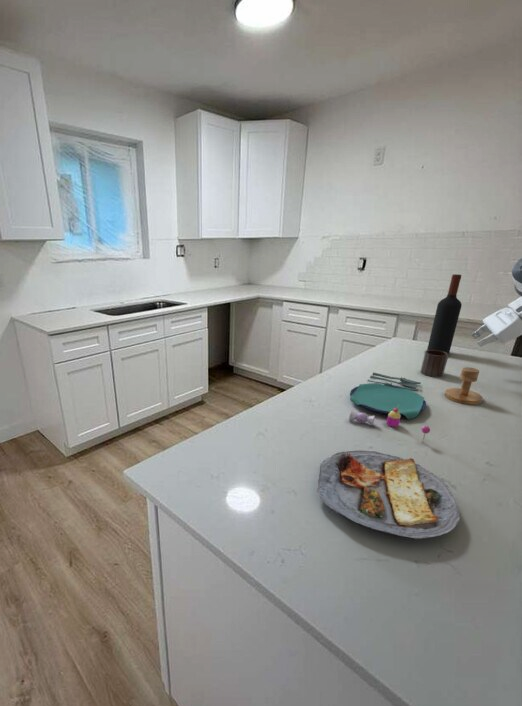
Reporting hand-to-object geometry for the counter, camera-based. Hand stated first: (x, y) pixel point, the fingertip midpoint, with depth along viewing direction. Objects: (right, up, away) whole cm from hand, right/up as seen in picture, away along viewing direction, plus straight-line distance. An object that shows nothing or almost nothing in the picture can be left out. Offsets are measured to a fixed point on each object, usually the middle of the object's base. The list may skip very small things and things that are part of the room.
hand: (475, 340), depth 117 cm
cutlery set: (-32, -18, -8) cm, 38 cm away
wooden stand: (-11, -18, -10) cm, 24 cm away
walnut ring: (-9, -10, +8) cm, 16 cm away
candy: (-41, -26, -24) cm, 54 cm away
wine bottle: (+6, -2, +27) cm, 28 cm away
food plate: (-55, -36, -47) cm, 80 cm away
